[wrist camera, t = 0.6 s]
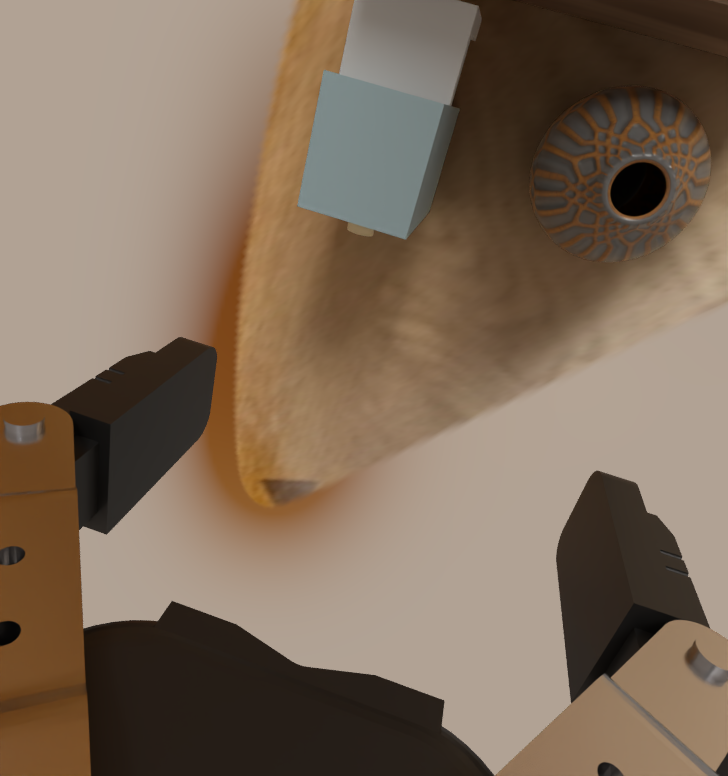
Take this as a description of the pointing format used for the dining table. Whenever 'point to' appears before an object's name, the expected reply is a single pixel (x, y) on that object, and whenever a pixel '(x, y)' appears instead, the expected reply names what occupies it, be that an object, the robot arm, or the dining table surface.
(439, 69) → the cabinet
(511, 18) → the dining table surface
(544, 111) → the dining table surface
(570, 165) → the vase
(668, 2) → the wall board
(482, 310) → the dining table surface
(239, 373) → the dining table surface
